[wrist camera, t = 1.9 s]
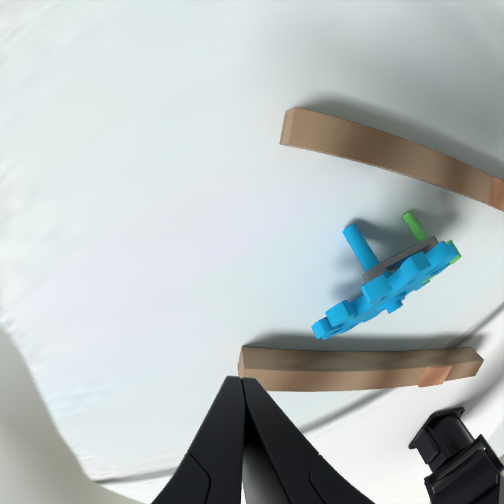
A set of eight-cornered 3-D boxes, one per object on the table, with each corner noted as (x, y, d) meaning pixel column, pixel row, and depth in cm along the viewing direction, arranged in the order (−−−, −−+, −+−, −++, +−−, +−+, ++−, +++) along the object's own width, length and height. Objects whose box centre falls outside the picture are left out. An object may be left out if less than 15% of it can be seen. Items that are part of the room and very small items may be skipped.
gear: (312, 357, 21) (340, 330, 12) (278, 286, 23) (279, 214, 14) (431, 292, 22) (500, 233, 13) (395, 232, 25) (442, 154, 16)
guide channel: (523, 197, 20) (543, 204, 18) (462, 362, 26) (476, 377, 23) (285, 111, 17) (296, 105, 14) (237, 367, 23) (240, 392, 20)
